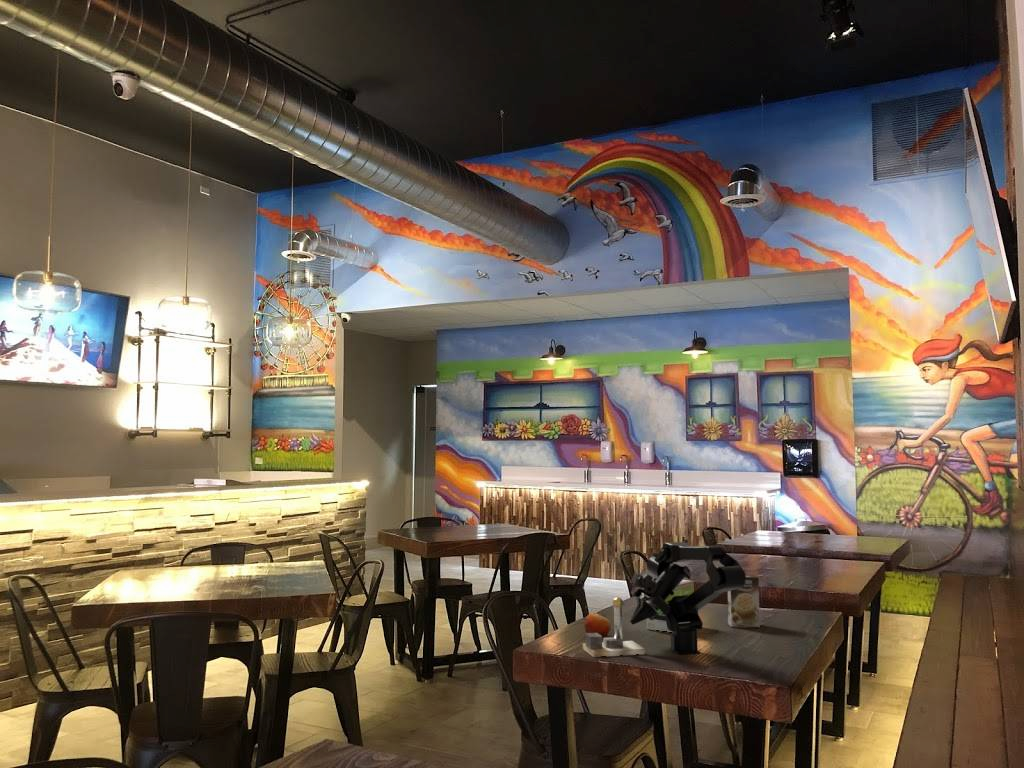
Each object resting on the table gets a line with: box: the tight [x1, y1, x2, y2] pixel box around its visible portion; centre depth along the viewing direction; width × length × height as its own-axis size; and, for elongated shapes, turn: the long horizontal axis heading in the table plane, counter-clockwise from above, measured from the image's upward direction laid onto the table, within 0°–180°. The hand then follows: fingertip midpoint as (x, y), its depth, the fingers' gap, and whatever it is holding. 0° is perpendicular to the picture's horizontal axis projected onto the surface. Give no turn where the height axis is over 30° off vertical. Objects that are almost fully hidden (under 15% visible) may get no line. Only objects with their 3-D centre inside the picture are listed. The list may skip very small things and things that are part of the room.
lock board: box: [582, 632, 646, 658], centre depth 232 cm, size 15×10×5 cm, turn 102°
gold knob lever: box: [602, 596, 624, 647], centre depth 232 cm, size 6×3×13 cm, turn 102°
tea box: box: [646, 579, 695, 633], centre depth 264 cm, size 15×10×15 cm, turn 143°
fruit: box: [584, 612, 612, 639], centre depth 251 cm, size 8×8×8 cm
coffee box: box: [727, 574, 760, 628], centre depth 266 cm, size 9×6×16 cm
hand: (631, 623), depth 234 cm, fingers closed
